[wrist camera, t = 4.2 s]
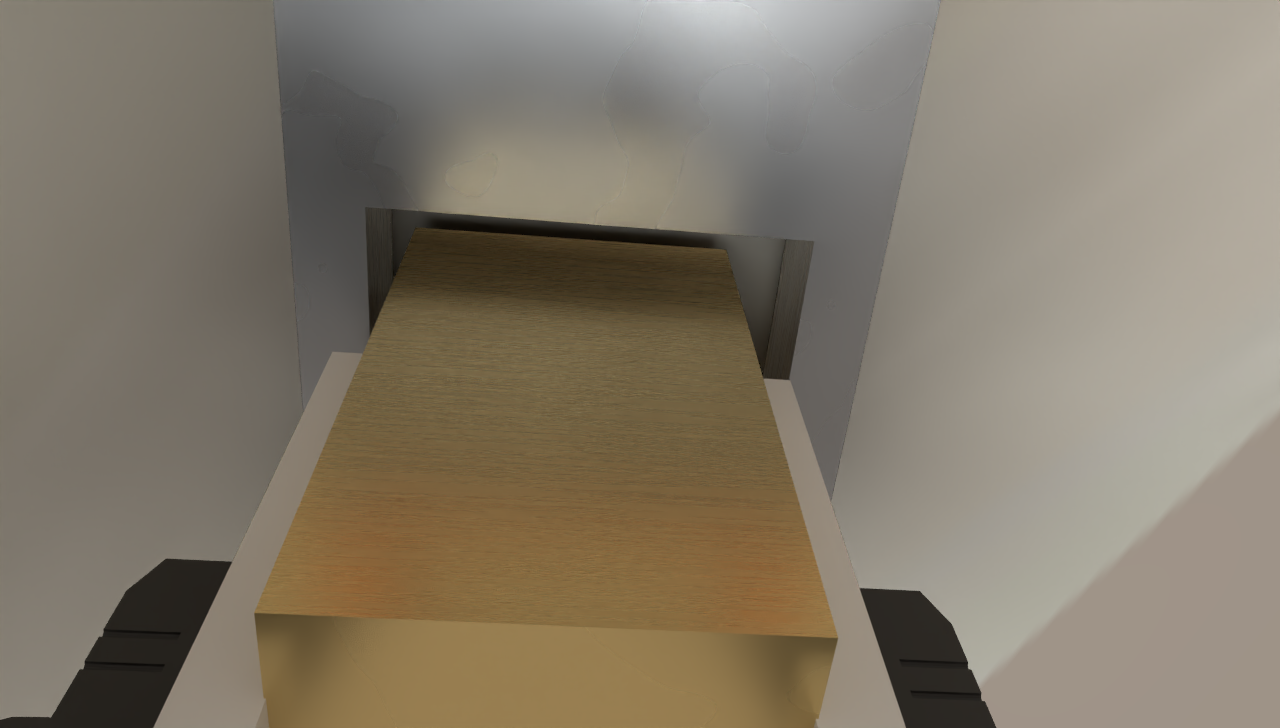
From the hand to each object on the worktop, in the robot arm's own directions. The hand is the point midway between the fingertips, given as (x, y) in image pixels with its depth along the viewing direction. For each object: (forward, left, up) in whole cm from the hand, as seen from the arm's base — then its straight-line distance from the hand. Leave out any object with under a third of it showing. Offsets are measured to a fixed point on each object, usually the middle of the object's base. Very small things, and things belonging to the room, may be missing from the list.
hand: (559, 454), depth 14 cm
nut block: (0, 0, -2) cm, 2 cm away
